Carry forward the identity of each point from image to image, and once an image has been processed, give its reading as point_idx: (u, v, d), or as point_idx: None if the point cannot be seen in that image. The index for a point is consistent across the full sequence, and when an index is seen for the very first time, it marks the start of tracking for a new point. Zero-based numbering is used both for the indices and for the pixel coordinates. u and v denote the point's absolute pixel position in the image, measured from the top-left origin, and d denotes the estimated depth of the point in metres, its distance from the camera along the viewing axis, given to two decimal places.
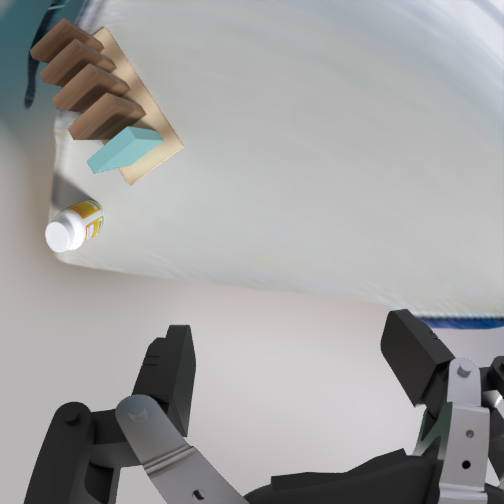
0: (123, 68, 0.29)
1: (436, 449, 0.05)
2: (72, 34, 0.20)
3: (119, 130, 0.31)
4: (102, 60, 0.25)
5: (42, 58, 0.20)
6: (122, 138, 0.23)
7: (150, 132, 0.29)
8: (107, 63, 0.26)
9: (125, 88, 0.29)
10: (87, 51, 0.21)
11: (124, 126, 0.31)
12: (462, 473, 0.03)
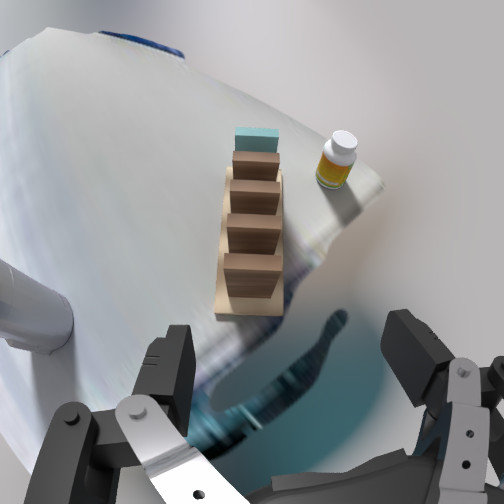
0: (226, 249, 0.40)
1: (435, 449, 0.05)
2: None
3: None
4: None
5: None
6: (243, 131, 0.35)
7: None
8: None
9: None
10: None
11: None
12: (462, 473, 0.03)
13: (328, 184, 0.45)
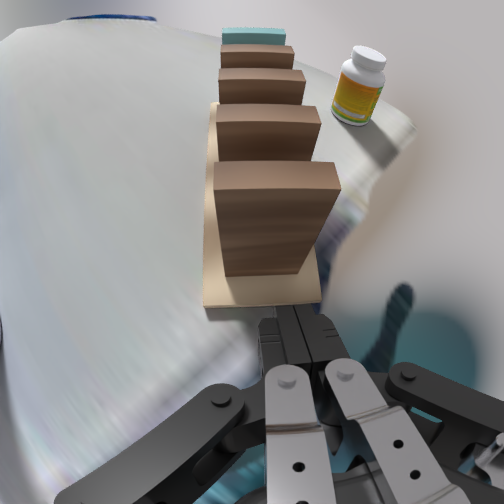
0: None
1: (359, 462, 0.05)
2: None
3: None
4: None
5: None
6: (234, 30, 0.19)
7: None
8: None
9: None
10: None
11: None
12: (417, 485, 0.03)
13: (351, 117, 0.30)
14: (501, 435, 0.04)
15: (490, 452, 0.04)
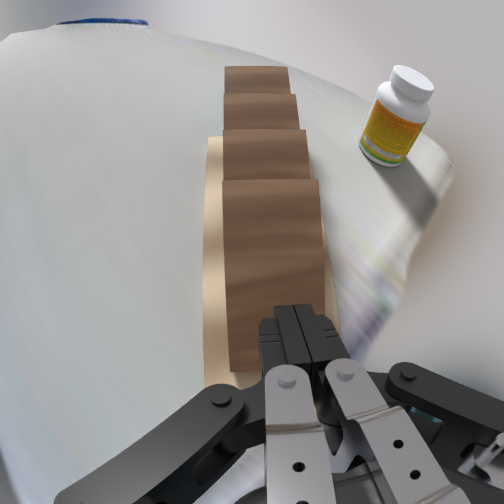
0: (217, 297, 0.19)
1: (359, 462, 0.05)
2: None
3: None
4: None
5: None
6: None
7: None
8: None
9: None
10: None
11: None
12: (417, 484, 0.03)
13: (385, 158, 0.24)
14: (501, 435, 0.04)
15: (490, 452, 0.04)
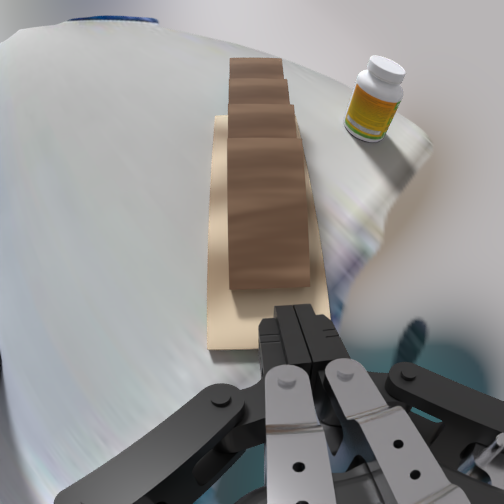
0: (221, 234, 0.23)
1: (359, 462, 0.05)
2: None
3: None
4: None
5: None
6: None
7: None
8: None
9: None
10: None
11: None
12: (417, 485, 0.03)
13: (366, 134, 0.28)
14: (501, 435, 0.04)
15: (490, 452, 0.04)
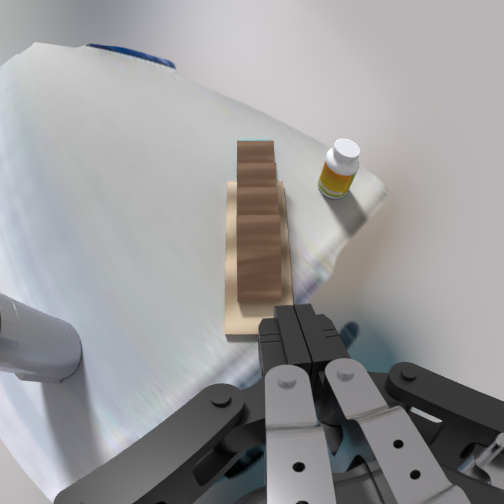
0: (232, 269, 0.39)
1: (359, 462, 0.05)
2: None
3: None
4: None
5: None
6: None
7: None
8: None
9: None
10: None
11: None
12: (417, 484, 0.03)
13: (331, 194, 0.44)
14: (501, 435, 0.04)
15: (490, 452, 0.04)
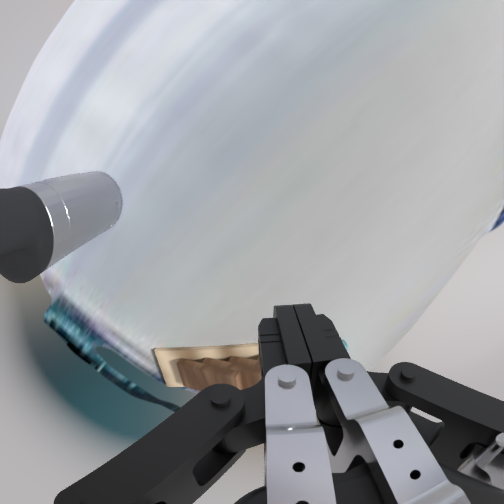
0: (205, 354, 0.45)
1: (359, 462, 0.05)
2: None
3: None
4: (231, 363, 0.44)
5: None
6: None
7: None
8: (222, 361, 0.45)
9: (242, 358, 0.45)
10: (256, 367, 0.42)
11: None
12: (417, 484, 0.03)
13: None
14: (501, 435, 0.04)
15: (490, 452, 0.04)
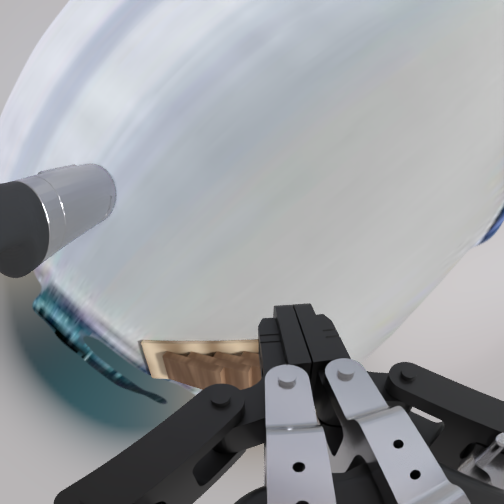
0: (190, 348, 0.46)
1: (359, 462, 0.05)
2: None
3: None
4: (216, 358, 0.45)
5: None
6: None
7: None
8: (207, 356, 0.46)
9: (226, 354, 0.46)
10: (240, 363, 0.44)
11: None
12: (417, 484, 0.03)
13: None
14: (501, 435, 0.04)
15: (490, 452, 0.04)
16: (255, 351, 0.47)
